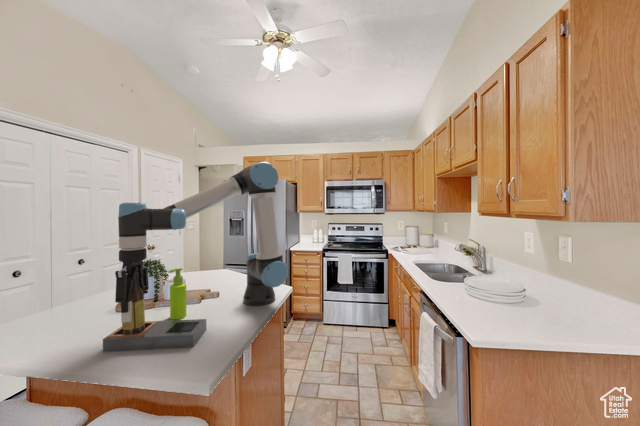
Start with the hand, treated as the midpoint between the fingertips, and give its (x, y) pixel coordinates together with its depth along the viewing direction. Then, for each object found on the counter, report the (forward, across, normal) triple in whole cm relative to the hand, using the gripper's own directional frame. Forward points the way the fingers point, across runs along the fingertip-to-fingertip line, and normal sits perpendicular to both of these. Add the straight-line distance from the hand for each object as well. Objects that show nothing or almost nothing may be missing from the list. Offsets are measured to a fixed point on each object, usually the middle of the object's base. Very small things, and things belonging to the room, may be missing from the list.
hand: (133, 317), depth 86 cm
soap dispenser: (+8, -19, +6) cm, 21 cm away
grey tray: (+8, 0, +8) cm, 11 cm away
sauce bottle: (+5, 0, 0) cm, 5 cm away
